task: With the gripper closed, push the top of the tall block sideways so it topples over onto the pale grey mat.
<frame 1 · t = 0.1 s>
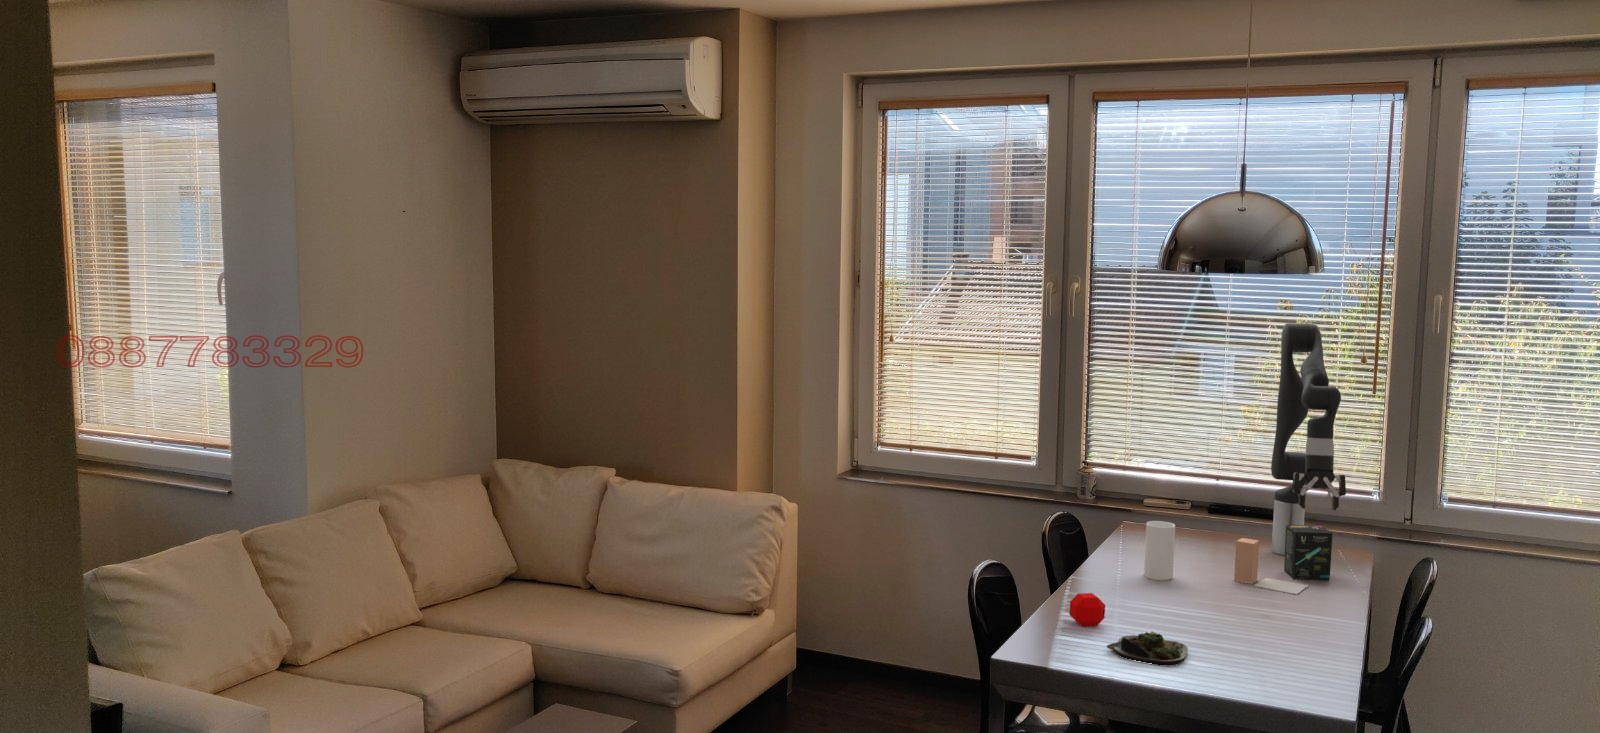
hand: (1318, 509, 332), 22 cm above the table, tool pointing down, fingers open, 8 cm apart
tampon box: (1306, 576, 343), on the table
cup: (1158, 577, 340), on the table
block: (1245, 580, 337), on the table
mat: (1281, 586, 331), on the table
ball: (1086, 624, 295), on the table
salad plate: (1148, 655, 274), on the table
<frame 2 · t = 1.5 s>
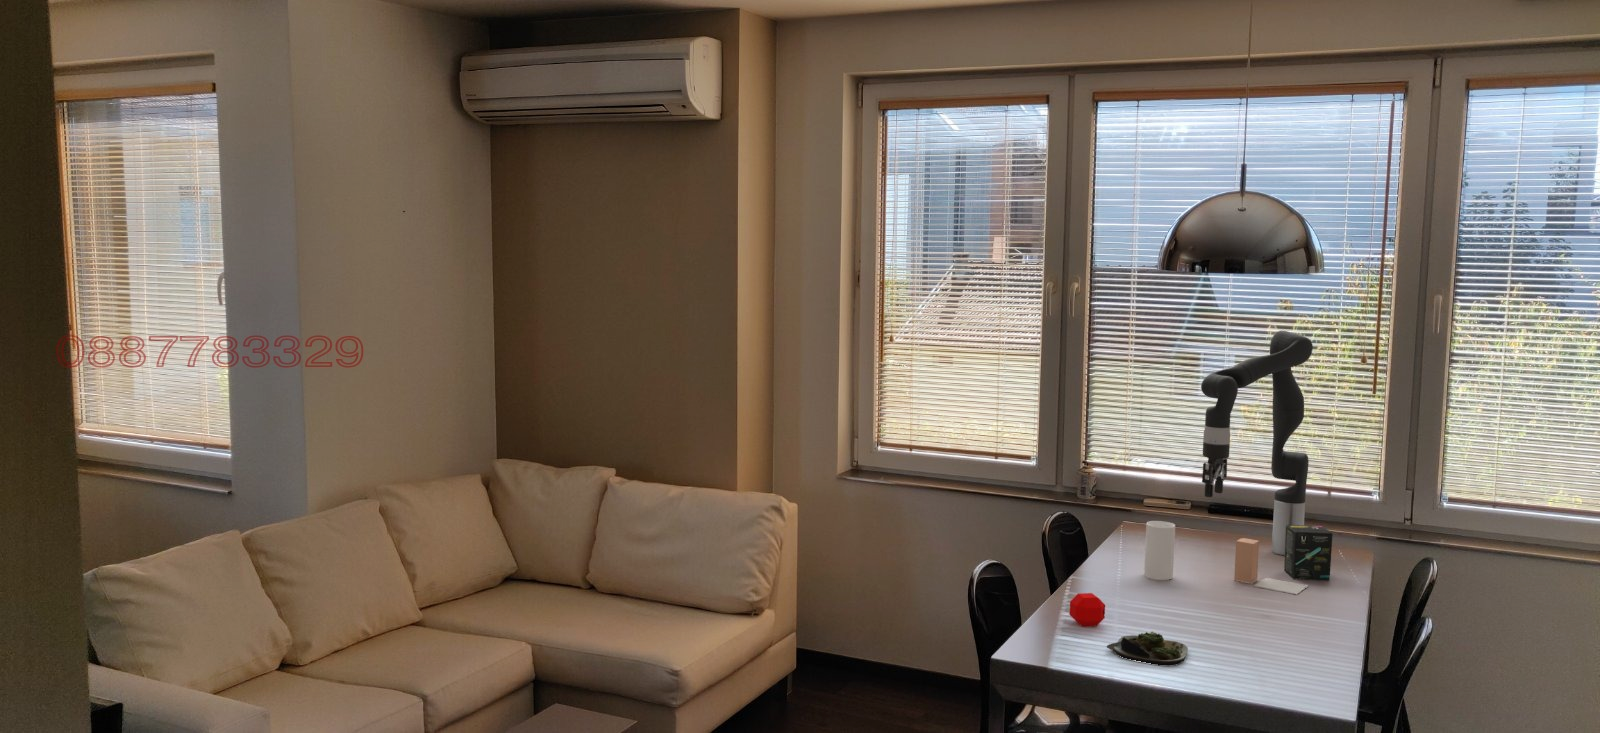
hand: (1213, 494, 341), 24 cm above the table, tool pointing down, fingers open, 8 cm apart
nothing on the table moved.
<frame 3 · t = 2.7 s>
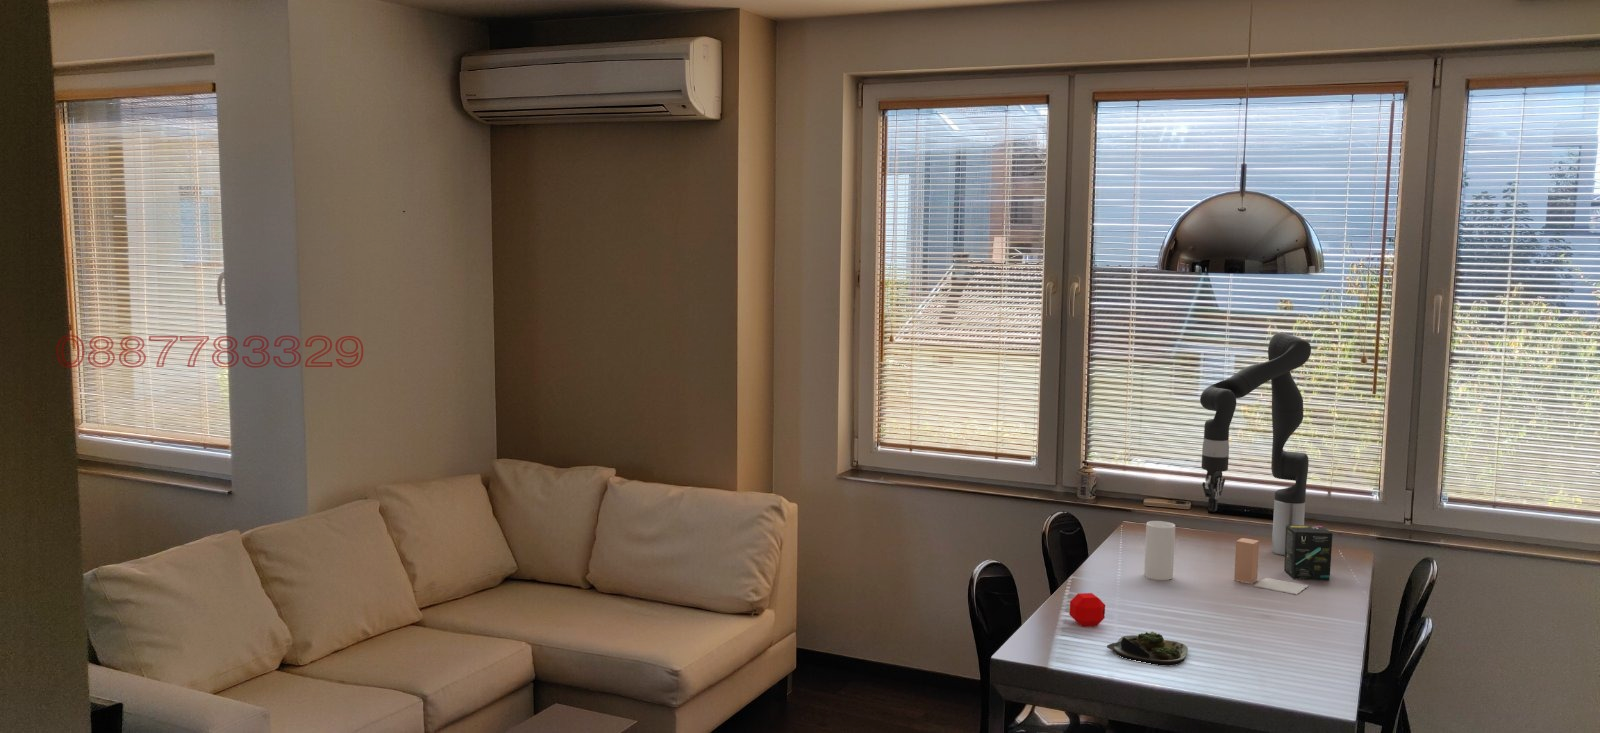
hand: (1212, 510, 342), 19 cm above the table, tool pointing down, fingers closed
nothing on the table moved.
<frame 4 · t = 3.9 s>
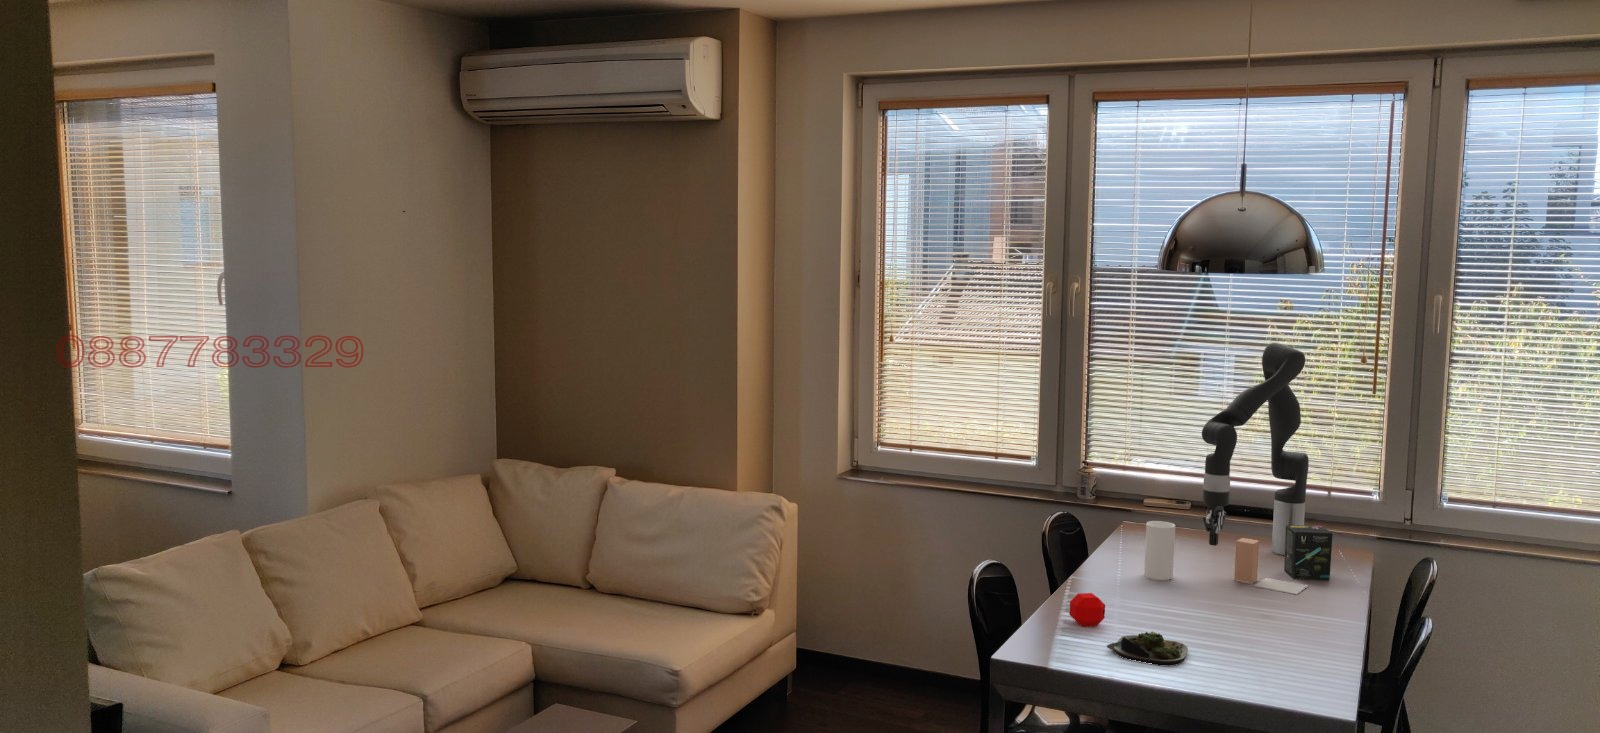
hand: (1213, 544, 343), 9 cm above the table, tool pointing down, fingers closed
nothing on the table moved.
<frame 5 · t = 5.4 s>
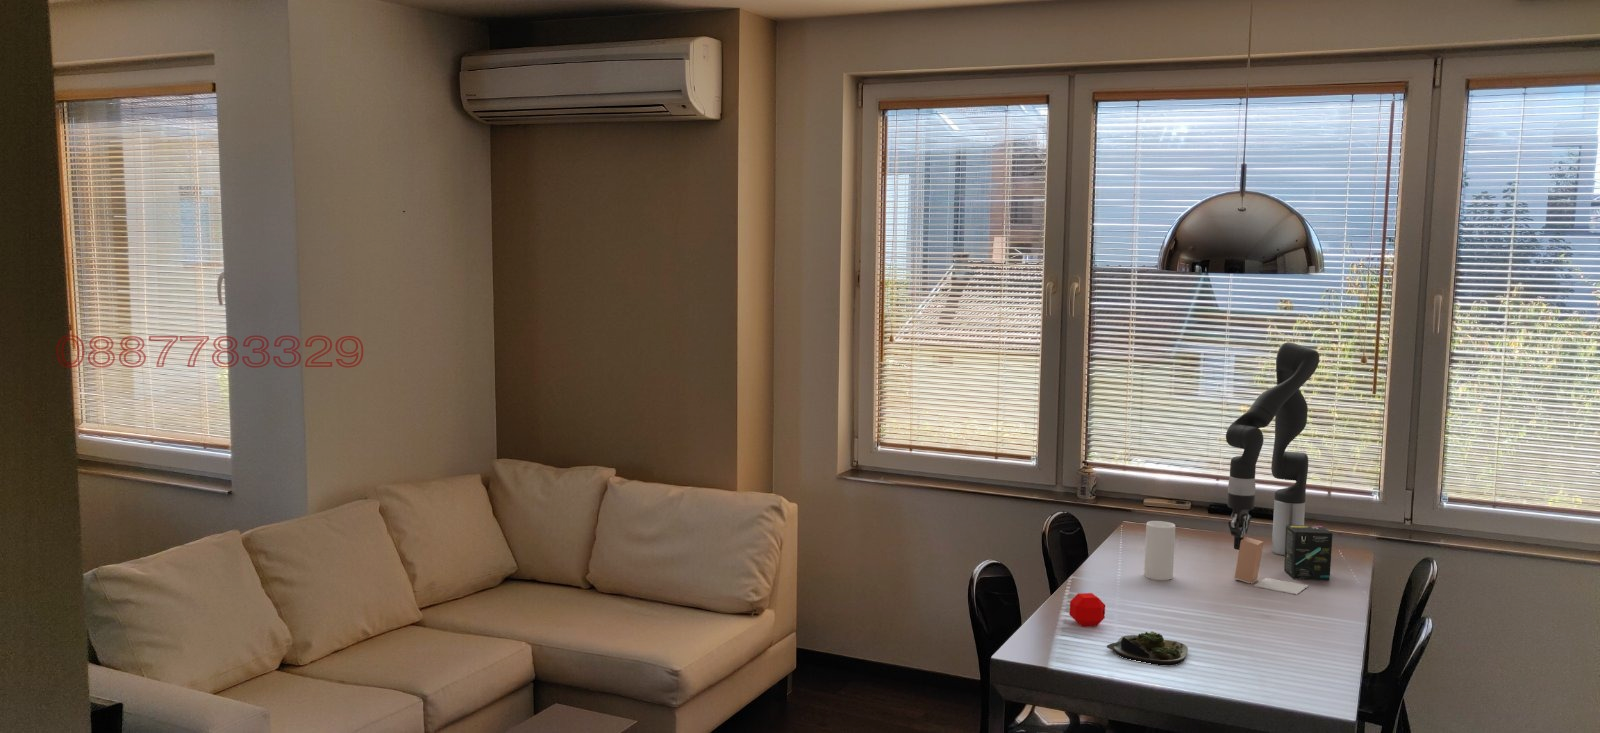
hand: (1238, 549, 338), 9 cm above the table, tool pointing down, fingers closed
block: (1245, 579, 337), on the table, tilted 6°
everything else where it was.
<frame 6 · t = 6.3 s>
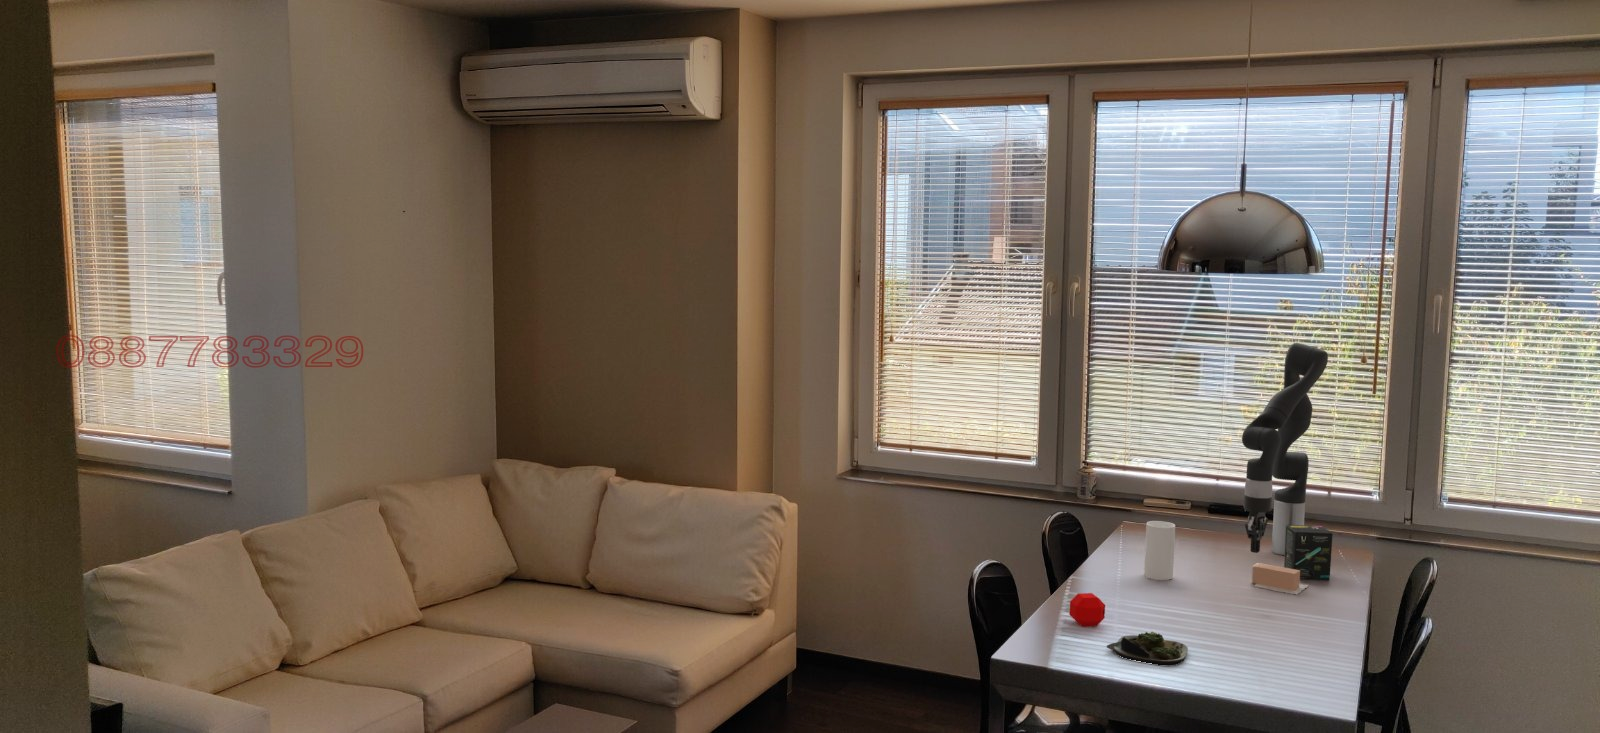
hand: (1255, 552, 335), 9 cm above the table, tool pointing down, fingers closed
block: (1254, 572, 335), point 3 cm above the table, tilted 90°, touching mat
everything else where it was.
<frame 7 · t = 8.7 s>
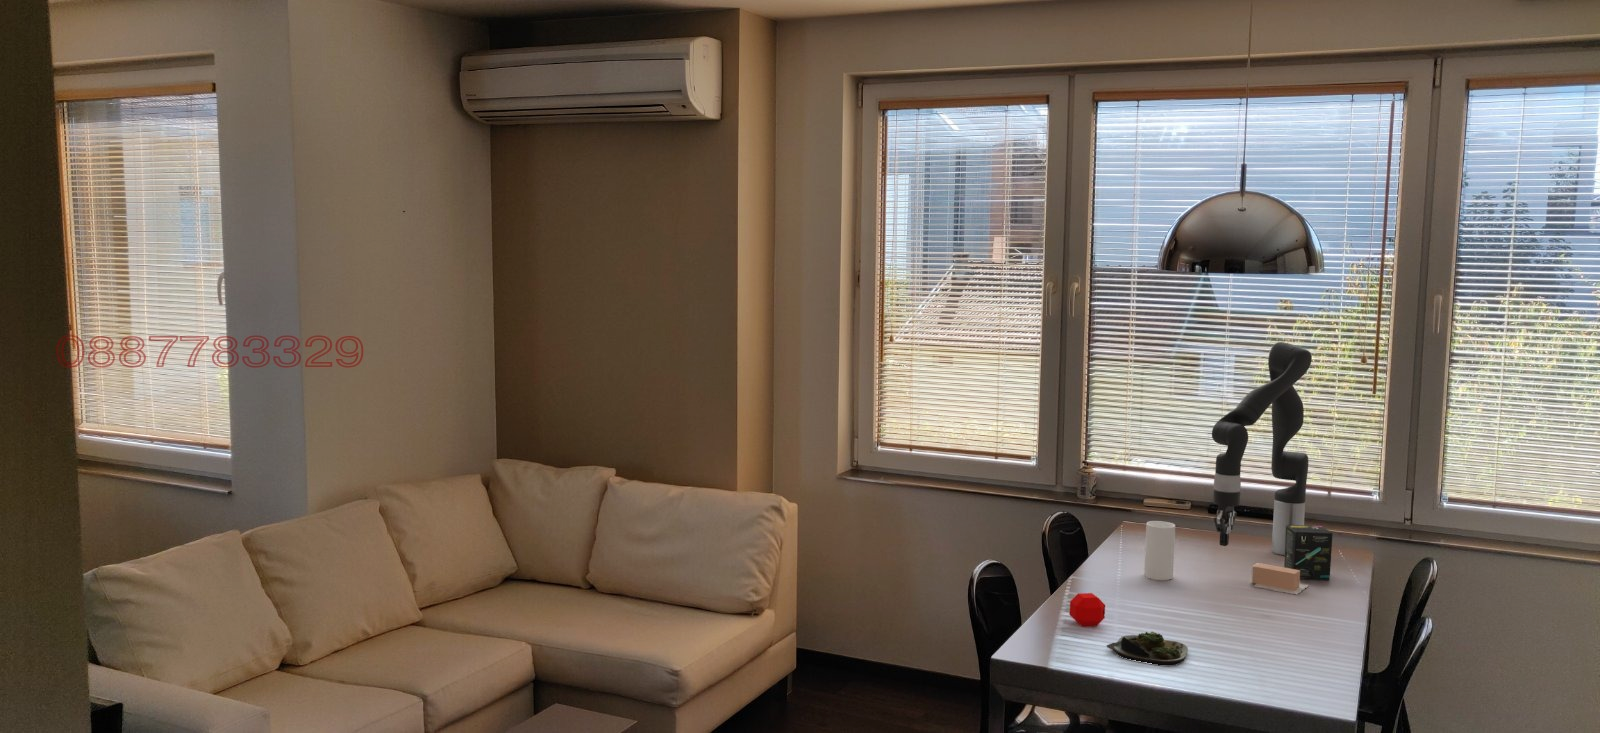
hand: (1223, 545, 341), 9 cm above the table, tool pointing down, fingers closed
nothing on the table moved.
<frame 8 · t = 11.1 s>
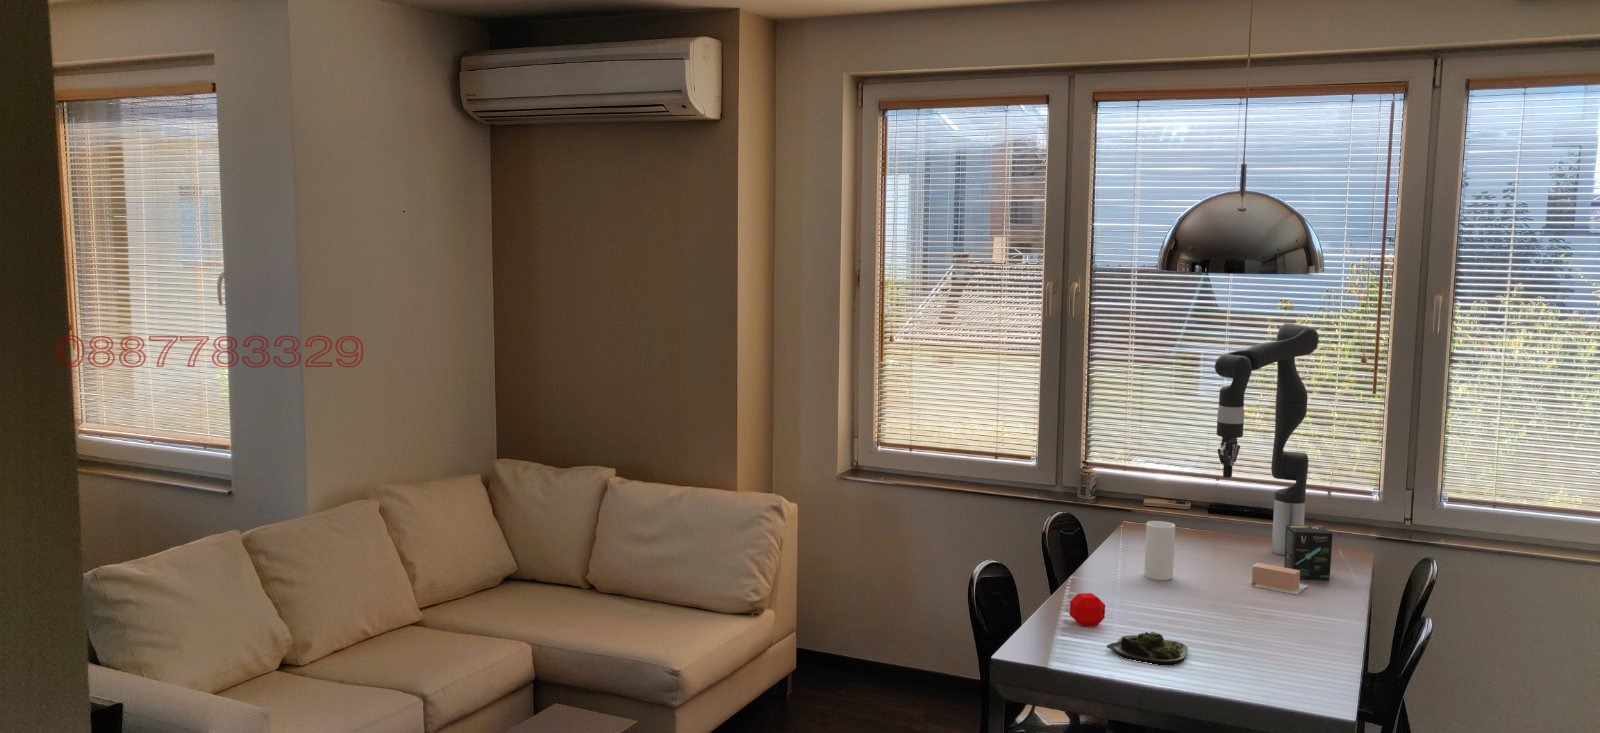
hand: (1227, 477, 345), 29 cm above the table, tool pointing down, fingers closed
nothing on the table moved.
at the end: block tilted 90°; block inside the target area (3.0 cm from its centre), point 2.8 cm above the table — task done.
